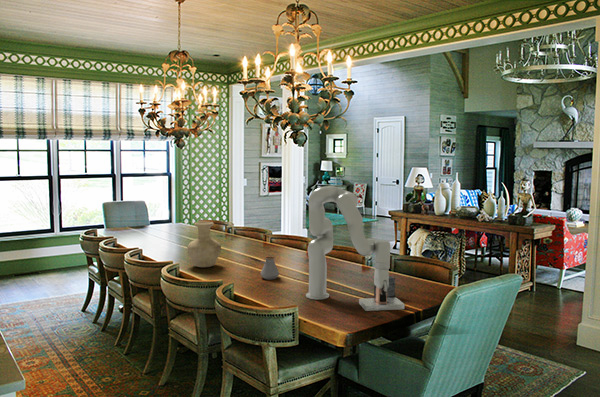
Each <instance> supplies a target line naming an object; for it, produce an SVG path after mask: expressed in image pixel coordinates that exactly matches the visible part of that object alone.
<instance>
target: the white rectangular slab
mask: <svg viewBox="0 0 600 397" xmlns="http://www.w3.org/2000/svg"><path fill="white" fill-rule="evenodd" d="M358 304H359V305H360V306H361V307H362V309H363V310H364V311H366V312H370V311H371V312H372V311H373V312H374V311H393V310H394V311H396V310H405V303H404V302H402V301H401V300H400V299H399V298H397V297H396V296H394V297H391V298H387V303H382V304H377V303H376V298H375V297H373V298H372V297H371V298H359V299H358Z"/></svg>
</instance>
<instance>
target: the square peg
mask: <svg viewBox="0 0 600 397" xmlns="http://www.w3.org/2000/svg"><path fill="white" fill-rule="evenodd" d="M382 288H384V287H382ZM383 290H384V289H382V291H383ZM380 294H381V291H380V289H379V288H378V287H377V286H376V303H377V304H382V303H387V294H386V302H380Z"/></svg>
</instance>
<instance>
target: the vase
mask: <svg viewBox="0 0 600 397" xmlns="http://www.w3.org/2000/svg"><path fill="white" fill-rule="evenodd" d="M214 224H215V223H214V222H212V221H197V222H194V227H197V238H195V239H194V240H191V241H190V242H189V243H188V245H187V248H186V249H187V254H188V256H189V258H190V260H191V261H192V265H193V266H194V267H195V268H196V267H197V268H210V267H214V266H215V265H216V263H217V260H218V259H219V256H220V254H221V251H222V245H221V243H220V242H219V241H217V240H216V239H213V238H212V237H211V227H213V226H214Z"/></svg>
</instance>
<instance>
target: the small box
mask: <svg viewBox="0 0 600 397" xmlns="http://www.w3.org/2000/svg"><path fill="white" fill-rule="evenodd" d="M393 297H396V277H393V276H390V275H389V287H388V288H387V298H393ZM373 298H376V286H375V285H374V284H373Z"/></svg>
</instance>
